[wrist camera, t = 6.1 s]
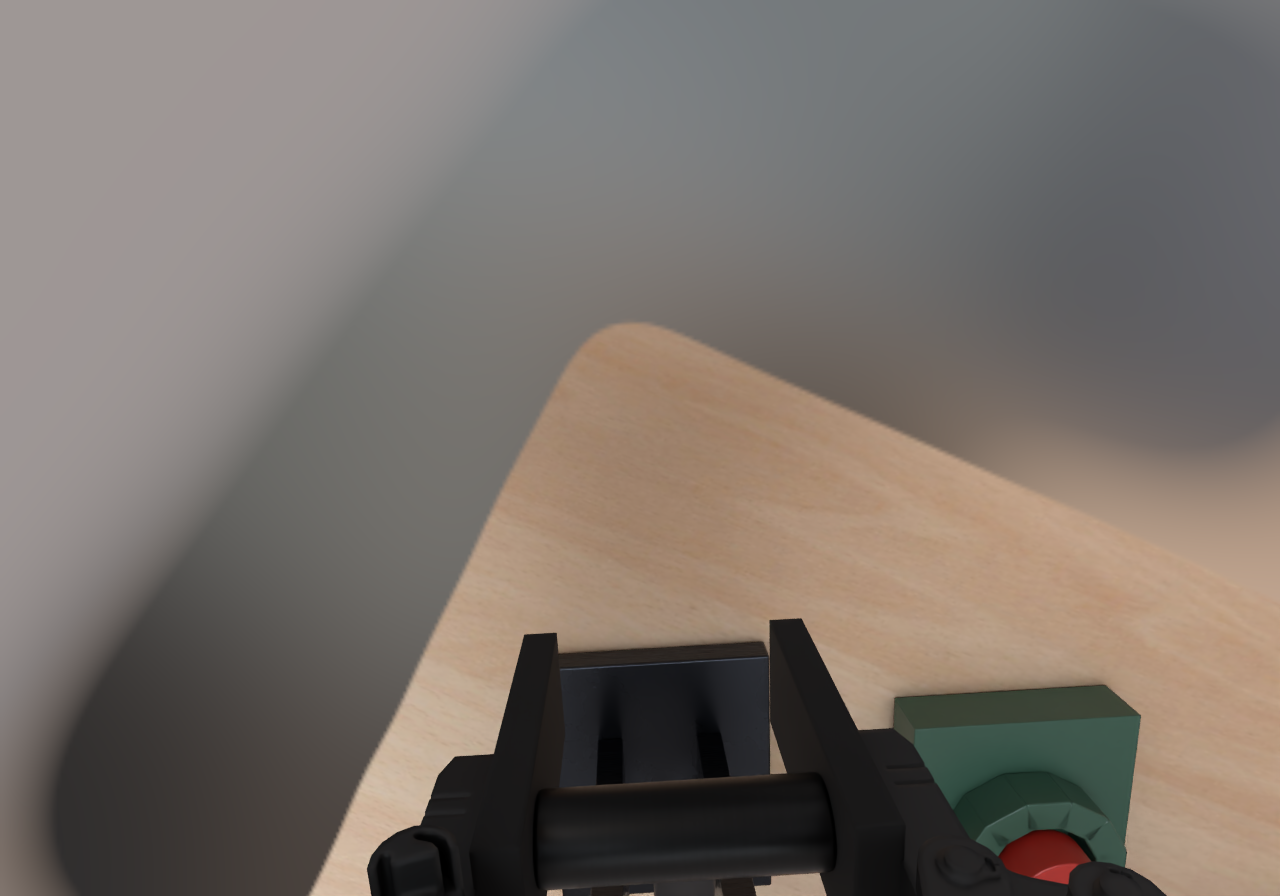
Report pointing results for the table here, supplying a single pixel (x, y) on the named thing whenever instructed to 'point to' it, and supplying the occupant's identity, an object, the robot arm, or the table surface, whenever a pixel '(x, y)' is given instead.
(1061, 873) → the button
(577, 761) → the switch bracket
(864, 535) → the table surface
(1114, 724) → the button box
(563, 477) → the table surface
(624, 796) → the switch lever
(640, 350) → the table surface
